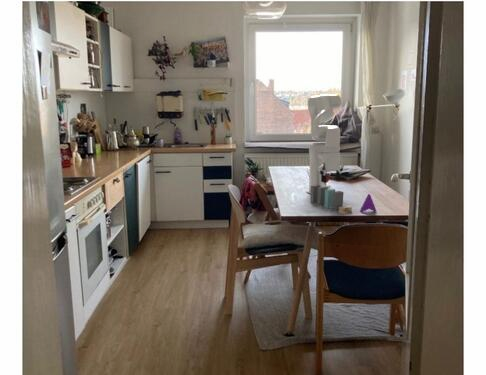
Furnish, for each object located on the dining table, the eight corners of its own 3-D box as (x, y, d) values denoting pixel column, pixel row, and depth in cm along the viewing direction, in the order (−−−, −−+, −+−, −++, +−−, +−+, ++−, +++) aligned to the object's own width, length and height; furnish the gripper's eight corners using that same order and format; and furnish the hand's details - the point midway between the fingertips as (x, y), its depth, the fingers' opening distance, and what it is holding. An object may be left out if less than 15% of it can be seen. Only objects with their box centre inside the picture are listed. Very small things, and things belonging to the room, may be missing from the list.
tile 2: (317, 204, 248) (317, 187, 246) (324, 203, 251) (325, 186, 249) (320, 205, 246) (320, 188, 244) (327, 204, 249) (327, 187, 247)
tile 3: (332, 209, 237) (332, 191, 235) (339, 208, 240) (340, 190, 238) (335, 211, 235) (336, 192, 233) (342, 209, 237) (343, 191, 235)
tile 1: (310, 202, 254) (310, 185, 252) (317, 201, 256) (317, 184, 254) (313, 203, 252) (313, 186, 250) (320, 202, 254) (320, 185, 252)
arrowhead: (366, 219, 235) (380, 206, 235) (368, 220, 234) (381, 206, 234) (355, 207, 233) (368, 193, 233) (356, 207, 231) (369, 194, 231)
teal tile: (324, 207, 243) (325, 189, 241) (331, 206, 245) (332, 188, 243) (327, 208, 241) (328, 190, 239) (334, 207, 243) (335, 189, 241)
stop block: (347, 211, 235) (348, 205, 234) (351, 212, 232) (351, 207, 231) (338, 212, 232) (339, 207, 231) (342, 213, 229) (343, 208, 229)
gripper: (340, 148, 244) (338, 178, 248) (314, 150, 236) (313, 181, 240) (349, 150, 237) (347, 181, 241) (323, 152, 229) (322, 184, 233)
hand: (330, 181), depth 241 cm, fingers open, 9 cm apart
